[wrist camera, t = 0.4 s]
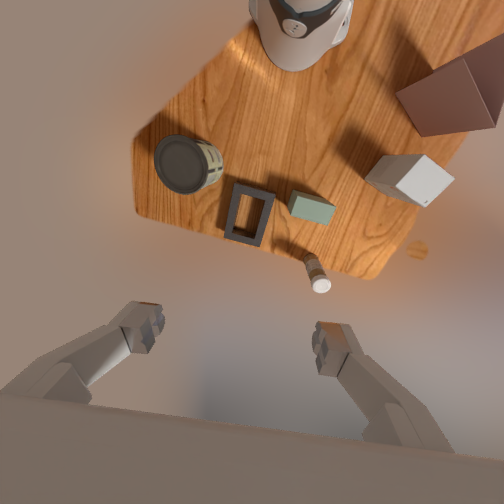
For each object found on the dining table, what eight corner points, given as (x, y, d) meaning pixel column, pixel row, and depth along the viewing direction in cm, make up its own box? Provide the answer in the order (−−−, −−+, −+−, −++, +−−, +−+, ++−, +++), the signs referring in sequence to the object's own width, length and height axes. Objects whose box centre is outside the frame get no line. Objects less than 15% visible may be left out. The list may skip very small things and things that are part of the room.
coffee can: (176, 165, 48) (144, 168, 35) (198, 130, 44) (171, 119, 31) (208, 193, 50) (188, 205, 38) (231, 162, 46) (218, 164, 34)
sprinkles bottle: (313, 267, 58) (325, 296, 46) (300, 263, 58) (309, 290, 46) (320, 255, 56) (335, 282, 44) (307, 251, 56) (317, 276, 44)
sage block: (292, 189, 48) (297, 196, 40) (325, 198, 49) (336, 206, 41) (287, 206, 50) (290, 215, 42) (318, 214, 51) (327, 225, 43)
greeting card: (426, 136, 41) (502, 126, 27) (389, 144, 42) (445, 138, 29) (438, 68, 36) (538, 16, 23) (396, 80, 37) (467, 37, 24)
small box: (408, 172, 44) (457, 178, 33) (386, 196, 47) (425, 208, 36) (383, 154, 43) (425, 153, 31) (362, 179, 46) (394, 186, 34)
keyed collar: (236, 181, 48) (234, 182, 45) (275, 191, 49) (275, 194, 45) (226, 232, 55) (223, 237, 52) (260, 241, 56) (259, 247, 52)
